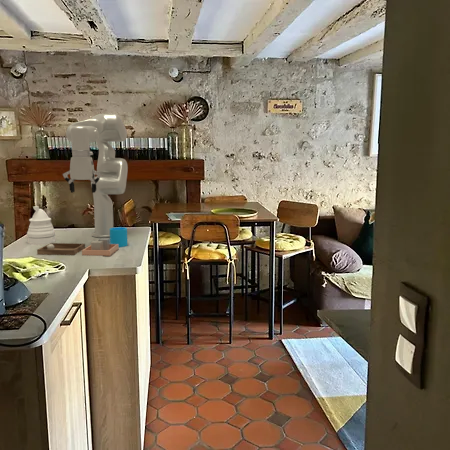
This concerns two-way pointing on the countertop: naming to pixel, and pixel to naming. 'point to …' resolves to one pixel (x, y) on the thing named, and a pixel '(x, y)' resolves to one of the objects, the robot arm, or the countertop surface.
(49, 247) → the pebble
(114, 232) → the mug
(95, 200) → the robot arm
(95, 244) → the stone
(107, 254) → the tray
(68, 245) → the tray
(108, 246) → the stone
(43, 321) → the countertop surface
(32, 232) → the honey pot
